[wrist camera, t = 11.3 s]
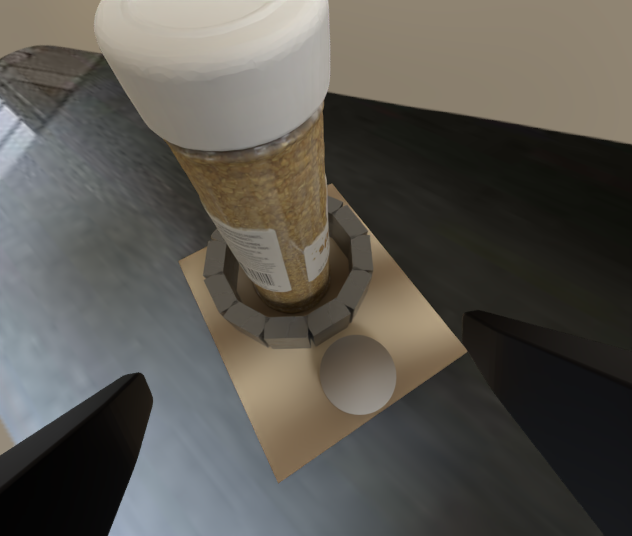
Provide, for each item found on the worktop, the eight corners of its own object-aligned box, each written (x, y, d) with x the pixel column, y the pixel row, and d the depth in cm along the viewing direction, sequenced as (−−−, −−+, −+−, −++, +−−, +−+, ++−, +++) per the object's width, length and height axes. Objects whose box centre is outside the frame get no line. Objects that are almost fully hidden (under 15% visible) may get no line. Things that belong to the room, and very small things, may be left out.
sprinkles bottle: (347, 286, 17) (382, -9, 5) (278, 331, 16) (129, 101, 4) (303, 230, 19) (254, -88, 7) (239, 268, 18) (54, -22, 6)
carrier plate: (460, 354, 17) (476, 347, 15) (281, 478, 14) (274, 488, 13) (331, 192, 22) (331, 172, 20) (185, 268, 19) (170, 253, 18)
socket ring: (396, 296, 17) (406, 279, 15) (260, 380, 15) (248, 375, 13) (317, 193, 20) (316, 166, 18) (198, 254, 19) (180, 232, 16)
